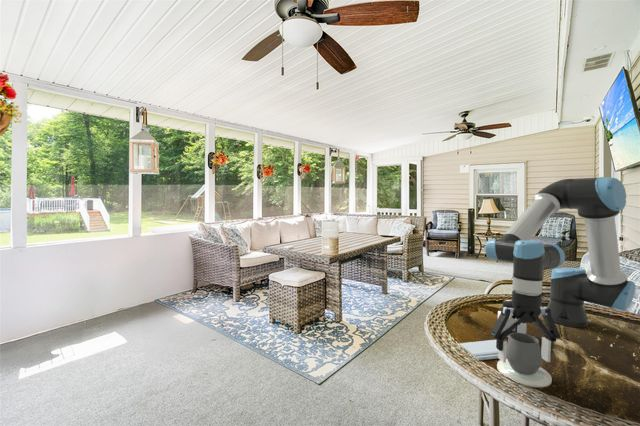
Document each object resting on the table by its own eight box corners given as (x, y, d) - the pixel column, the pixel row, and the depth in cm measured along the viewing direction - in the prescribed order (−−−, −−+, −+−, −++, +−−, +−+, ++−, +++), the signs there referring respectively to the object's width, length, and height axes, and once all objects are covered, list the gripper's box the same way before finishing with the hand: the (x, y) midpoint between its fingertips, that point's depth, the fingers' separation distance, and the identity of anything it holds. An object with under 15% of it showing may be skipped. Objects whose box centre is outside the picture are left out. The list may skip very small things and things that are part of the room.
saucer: (529, 361, 102) (529, 357, 102) (564, 387, 88) (564, 383, 88) (487, 361, 102) (487, 358, 102) (515, 387, 88) (516, 384, 88)
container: (526, 339, 118) (527, 305, 117) (504, 337, 120) (505, 304, 119) (517, 330, 126) (519, 299, 125) (496, 329, 127) (498, 297, 126)
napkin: (496, 342, 116) (496, 338, 115) (518, 355, 106) (518, 352, 106) (458, 346, 112) (458, 342, 112) (477, 360, 103) (477, 356, 102)
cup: (528, 381, 89) (529, 347, 88) (498, 365, 97) (499, 334, 97) (548, 373, 93) (549, 341, 92) (518, 359, 101) (518, 329, 101)
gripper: (557, 288, 98) (553, 353, 99) (479, 288, 97) (477, 354, 98) (577, 295, 90) (573, 366, 92) (493, 295, 90) (490, 367, 91)
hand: (523, 360), depth 95 cm, fingers open, 13 cm apart
